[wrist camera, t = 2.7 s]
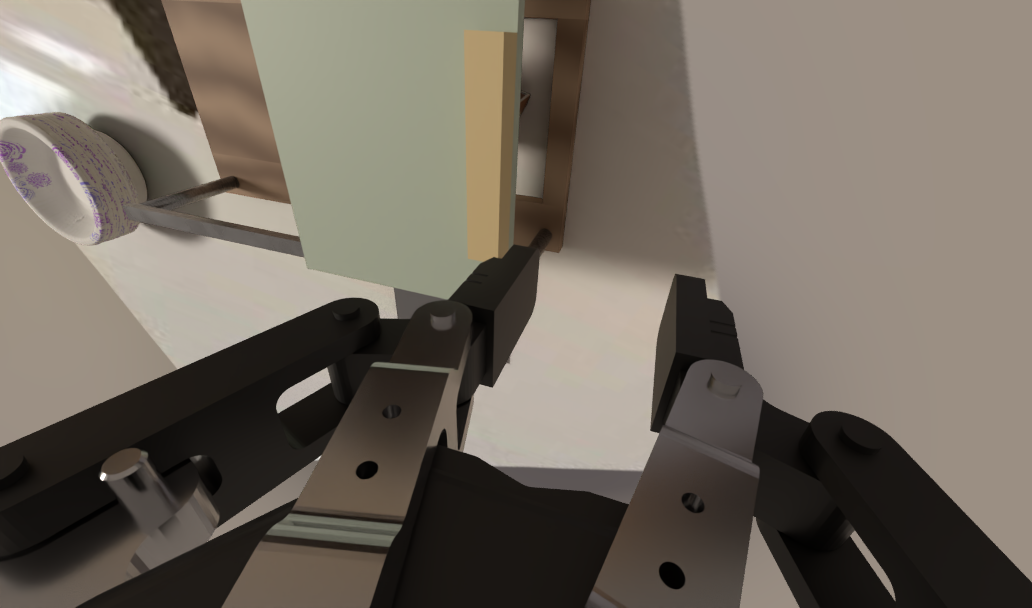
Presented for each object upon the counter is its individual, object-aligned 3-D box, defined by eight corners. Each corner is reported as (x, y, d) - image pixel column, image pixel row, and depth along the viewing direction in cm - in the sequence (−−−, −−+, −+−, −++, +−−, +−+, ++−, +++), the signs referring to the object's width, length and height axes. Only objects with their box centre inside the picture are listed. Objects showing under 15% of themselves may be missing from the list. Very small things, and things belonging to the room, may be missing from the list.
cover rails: (152, -52, 38) (-14, -80, 29) (584, -47, 28) (541, -88, 19) (229, 186, 49) (128, 219, 40) (554, 244, 40) (518, 303, 31)
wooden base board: (157, -60, 39) (140, -63, 37) (597, -59, 29) (594, -63, 28) (235, 188, 51) (225, 192, 50) (562, 246, 42) (558, 252, 40)
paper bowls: (47, 114, 55) (-36, 124, 49) (121, 102, 50) (39, 111, 44) (115, 225, 62) (51, 247, 56) (186, 225, 57) (124, 248, 51)
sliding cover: (233, -88, 23) (181, -103, 21) (529, -93, 19) (507, -112, 17) (315, 262, 35) (288, 279, 33) (510, 305, 31) (496, 328, 28)
